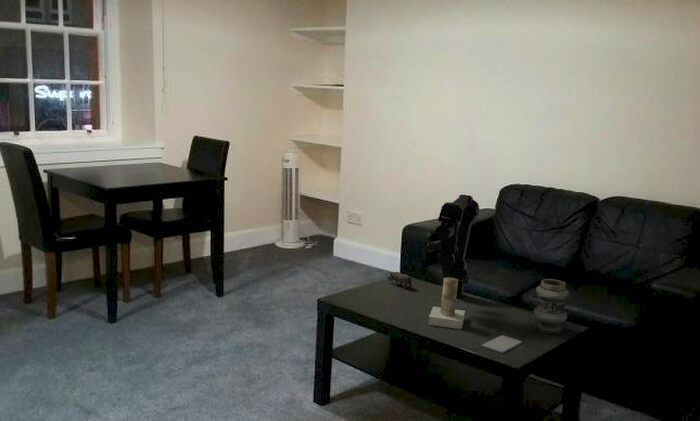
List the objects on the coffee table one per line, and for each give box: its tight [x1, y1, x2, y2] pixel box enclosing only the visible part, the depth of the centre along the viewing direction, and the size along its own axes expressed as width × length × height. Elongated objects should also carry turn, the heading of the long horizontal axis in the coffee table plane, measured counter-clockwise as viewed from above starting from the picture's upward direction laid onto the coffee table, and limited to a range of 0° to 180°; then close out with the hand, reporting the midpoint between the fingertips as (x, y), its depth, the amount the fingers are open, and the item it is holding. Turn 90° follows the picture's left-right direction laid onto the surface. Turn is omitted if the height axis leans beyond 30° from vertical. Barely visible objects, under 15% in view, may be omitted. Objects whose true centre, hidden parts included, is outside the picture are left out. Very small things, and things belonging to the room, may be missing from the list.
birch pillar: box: [440, 277, 458, 316], centre depth 247 cm, size 5×5×13 cm
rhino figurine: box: [386, 271, 413, 290], centre depth 288 cm, size 4×14×6 cm, turn 44°
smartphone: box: [480, 334, 523, 355], centre depth 229 cm, size 8×1×15 cm
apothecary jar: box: [532, 278, 570, 334], centre depth 245 cm, size 12×12×18 cm
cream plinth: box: [427, 306, 466, 330], centre depth 248 cm, size 12×12×3 cm
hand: (446, 274), depth 263 cm, fingers open, 9 cm apart
